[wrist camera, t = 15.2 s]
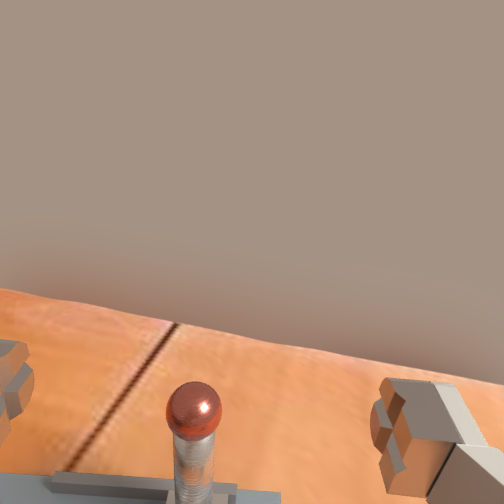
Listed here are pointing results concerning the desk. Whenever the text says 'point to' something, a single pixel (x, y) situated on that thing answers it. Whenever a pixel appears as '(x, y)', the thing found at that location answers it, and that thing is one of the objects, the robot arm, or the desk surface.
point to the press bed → (108, 490)
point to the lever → (194, 443)
